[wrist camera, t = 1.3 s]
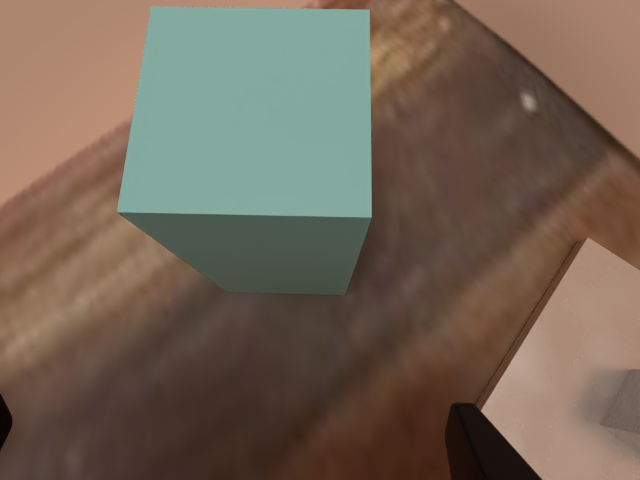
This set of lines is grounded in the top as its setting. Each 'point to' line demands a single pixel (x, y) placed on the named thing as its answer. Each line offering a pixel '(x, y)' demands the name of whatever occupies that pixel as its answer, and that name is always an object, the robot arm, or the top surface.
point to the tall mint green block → (254, 145)
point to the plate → (576, 374)
